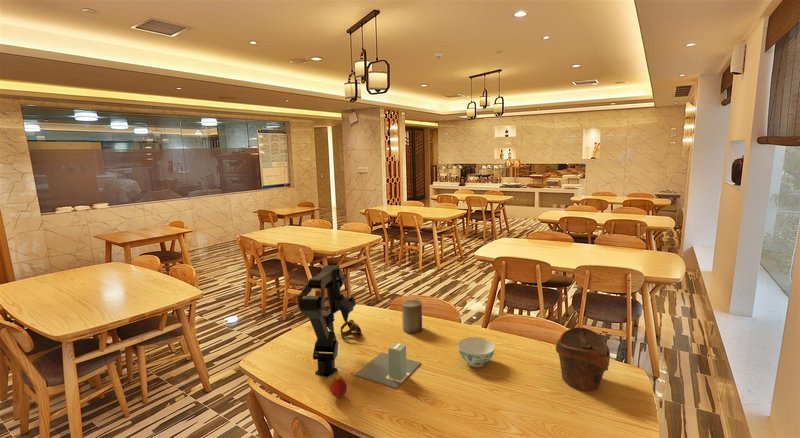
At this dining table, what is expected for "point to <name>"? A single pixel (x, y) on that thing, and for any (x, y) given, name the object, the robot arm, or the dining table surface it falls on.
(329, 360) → the robot arm
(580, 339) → the brown flower pot
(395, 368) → the block
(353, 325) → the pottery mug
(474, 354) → the chinaware
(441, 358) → the dining table surface
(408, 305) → the pillar candle
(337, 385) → the pomegranate
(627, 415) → the dining table surface
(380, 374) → the mat
